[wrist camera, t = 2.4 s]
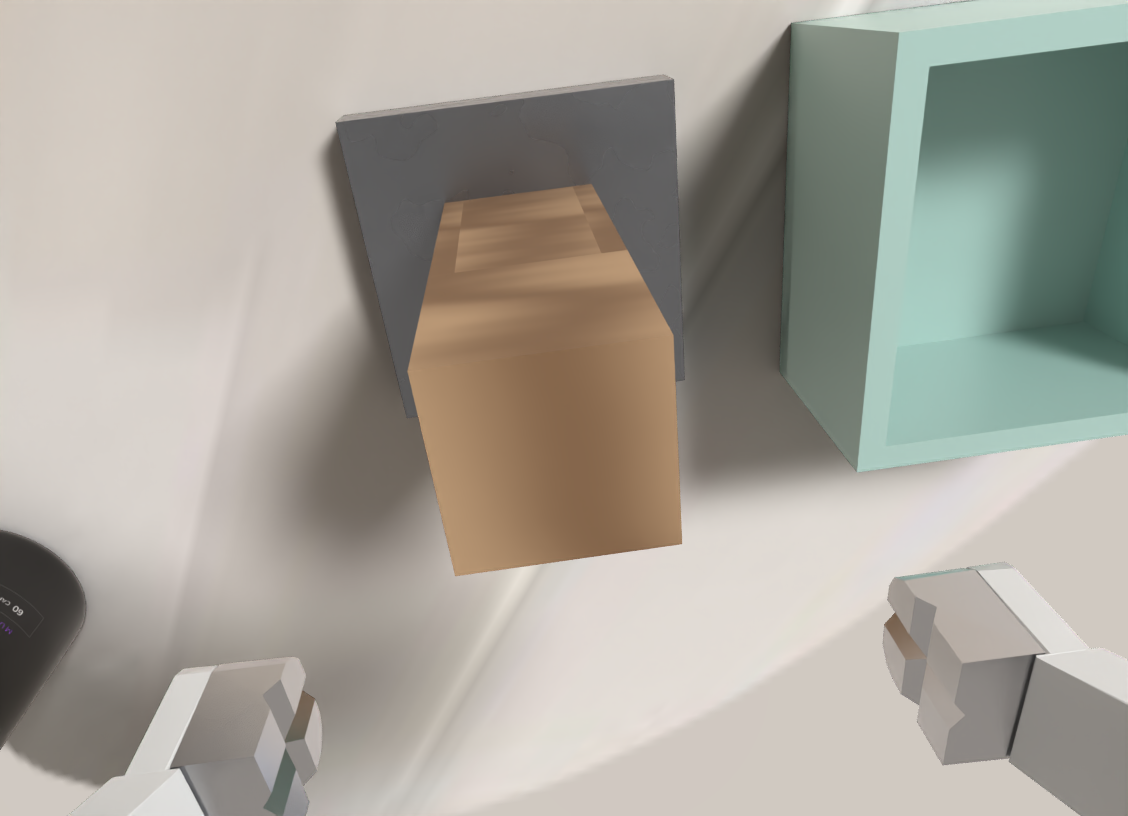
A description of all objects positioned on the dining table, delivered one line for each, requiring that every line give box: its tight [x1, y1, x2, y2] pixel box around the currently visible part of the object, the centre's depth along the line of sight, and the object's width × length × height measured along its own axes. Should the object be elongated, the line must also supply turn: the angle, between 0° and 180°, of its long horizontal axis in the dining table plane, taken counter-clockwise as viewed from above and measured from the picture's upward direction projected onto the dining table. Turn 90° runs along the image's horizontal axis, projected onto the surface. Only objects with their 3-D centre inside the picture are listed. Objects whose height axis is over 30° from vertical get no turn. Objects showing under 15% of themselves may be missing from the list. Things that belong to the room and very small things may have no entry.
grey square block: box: [335, 75, 685, 418], centre depth 23 cm, size 10×10×8 cm
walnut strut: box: [408, 184, 682, 576], centre depth 19 cm, size 5×5×12 cm
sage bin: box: [779, 0, 1128, 472], centre depth 23 cm, size 12×12×7 cm
